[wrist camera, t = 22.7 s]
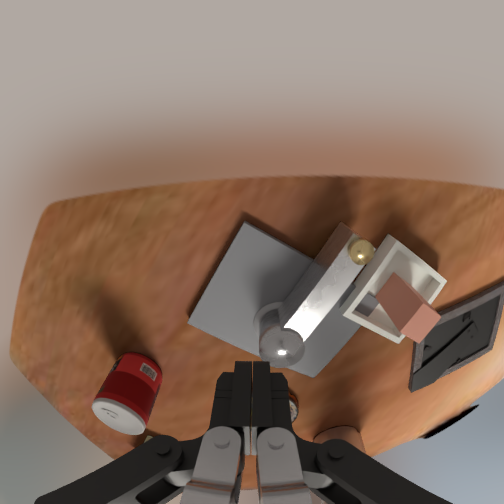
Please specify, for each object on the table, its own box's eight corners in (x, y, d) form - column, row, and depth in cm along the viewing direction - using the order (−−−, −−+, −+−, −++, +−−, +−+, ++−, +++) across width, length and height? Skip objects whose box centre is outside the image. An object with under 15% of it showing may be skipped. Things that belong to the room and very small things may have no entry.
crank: (284, 346, 35) (288, 376, 30) (251, 330, 34) (250, 360, 29) (367, 238, 30) (388, 255, 24) (333, 214, 29) (350, 228, 24)
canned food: (115, 345, 38) (85, 394, 27) (162, 357, 38) (140, 412, 28) (121, 378, 40) (98, 424, 30) (164, 389, 41) (147, 440, 30)
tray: (437, 273, 32) (447, 281, 30) (391, 333, 36) (398, 343, 33) (387, 233, 31) (397, 240, 28) (337, 304, 34) (342, 315, 32)
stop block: (411, 285, 32) (441, 316, 25) (393, 308, 34) (419, 343, 26) (393, 272, 32) (423, 302, 24) (374, 296, 33) (399, 332, 26)
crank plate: (377, 297, 34) (381, 301, 33) (312, 373, 38) (313, 378, 37) (244, 220, 31) (244, 222, 30) (188, 318, 35) (187, 323, 34)
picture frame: (407, 385, 41) (488, 345, 38) (411, 392, 39) (493, 350, 37) (413, 319, 36) (502, 279, 33) (419, 326, 34) (509, 283, 31)
